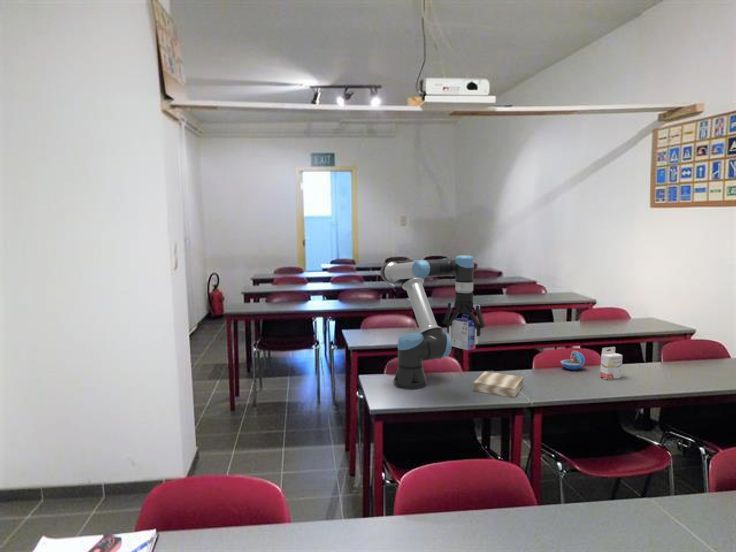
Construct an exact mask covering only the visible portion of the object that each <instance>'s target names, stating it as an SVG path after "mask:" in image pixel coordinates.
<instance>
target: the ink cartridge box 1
mask: <svg viewBox="0 0 736 552" xmlns="http://www.w3.org/2000/svg"><path fill="white" fill-rule="evenodd" d="M469 318H470V316H469V315H468V313H467V314H465V313H462V315H461V318H459V317H458V318H457V317H456V318H455V319H454V320H453V321H452V324H451V325H452V334H451V346H452V347H453V348H458V349H460V350H461V349H462V350H465V351H470V350H476V348H477V347H476V345H477V344H474V341H475V329H476V326H475V325H474V322H473V321H472V319H469Z"/></svg>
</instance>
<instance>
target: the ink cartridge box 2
mask: <svg viewBox="0 0 736 552" xmlns="http://www.w3.org/2000/svg"><path fill="white" fill-rule="evenodd" d="M622 368H623V354H621V353H616V347H615V346H610V347H602V349H601V355H600V375H599V377H600V378H601V377H603V378H606V379H611V378H617V377H618V378H619V377H621V378H622V371H623V370H622ZM603 378H602V379H603ZM606 379H605V380H606Z"/></svg>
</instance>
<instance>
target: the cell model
mask: <svg viewBox="0 0 736 552" xmlns="http://www.w3.org/2000/svg"><path fill="white" fill-rule="evenodd" d="M569 358H570V359H569ZM569 358H568V359H562V360H560V363H561V365H562V366H563V367H564V368H565V369H566V370H567V369H568V370H571V371H576V370H579V369H581V368H583V366H584V365H585V363H586V362H585V361H586V358H585V355H584V354H583V353H582V352H580V351H578V350H573V351H572V352H571V354H570V357H569Z"/></svg>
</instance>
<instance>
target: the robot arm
mask: <svg viewBox="0 0 736 552" xmlns="http://www.w3.org/2000/svg"><path fill="white" fill-rule="evenodd" d="M474 266H475V263H474V257H473V256H472V255H457V256H456V257H455V258H450V257H449V258H448V257H446V258H442V259H441V258H440V259H439V258H438V259H420V260H415V259H414V260H413V259H409V260H392V261H391V260H390V261H387V262H386V263H384V264H383V265H382V267H381V269H380V277H381V278H382V280H383V281H384V282H386V283H387V284H394V285H396V284H400V285H401V287H402V288H401V289H403V290H404V291H406V293H407V296H408V298H409V302H410V304H411V308H412V310H413V312H414V316H415V319H416V321H417V325H418V328H419V330H420V332H414V333H413V332H410V333H404V334H402V335H400V336H399V338H398V339H397V369H396V372H395V375H394V379H393V384H394V386H396V387H398V388H400V389H405V390H417V389H423V388H424V387H426V386H427V378H426V375H425V371H424V368H423V367H424V366H423V365H424V364H423V363H424V362H425V361H432V360H438V359H439V360H441V359H444V358H447V357H448V356H449V355H450V354H451V352H452V347H453V346H451V334H452V321H453V320H454V319H456V318H457V317H458V315H459V314H467V315H469V318H470V320H472V321H473V322H474V325H475V326H476V329H475V341H474V344H476V345H477V344H478V343H479V337H481V334H482V333H481V329H483V328H485V327H486V325H485V321H484V318H483V315H482V312H481V304H474V292H473V291H474ZM433 277H436V278H437V277H455V283H454V284H455V292H454V293H455V295H454V296H455V299H454V302H451V301H450V302H448V304H447V310H446V313H445V316H444V319H443V322H442V324H444V325H446V328H447V329H446V331H447V333H446V332H443V328H442V327H441V326H439V325H438V323H437V321H436V319H435V315H434V313H433V311H432V308H431V307H432V306H431V305H430V301H429V299H428V297H427V294H426V292H425V288H424V286H423V284H424V282H425V278H433ZM454 307H455V311H454V313H453V314H452V315H451V313H452V310H453V308H454ZM473 308H474V310H475V313H476V314H475V313H474V311H473ZM475 315H476V316H477V317H476V316H475ZM450 316H451V317H450ZM477 318H478V319H477Z"/></svg>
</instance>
